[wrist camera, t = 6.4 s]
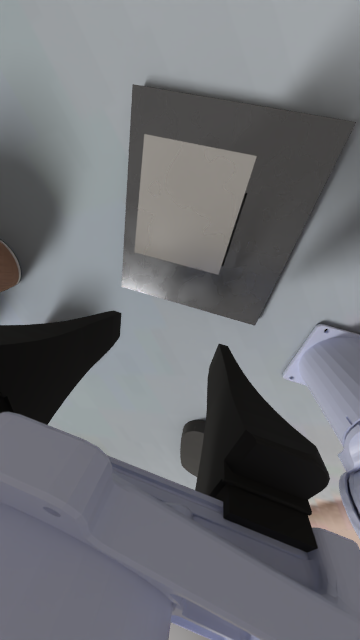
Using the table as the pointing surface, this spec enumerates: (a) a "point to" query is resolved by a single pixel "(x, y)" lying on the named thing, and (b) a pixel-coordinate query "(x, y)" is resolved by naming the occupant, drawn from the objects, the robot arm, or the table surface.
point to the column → (189, 201)
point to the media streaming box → (192, 445)
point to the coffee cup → (8, 268)
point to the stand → (258, 202)
